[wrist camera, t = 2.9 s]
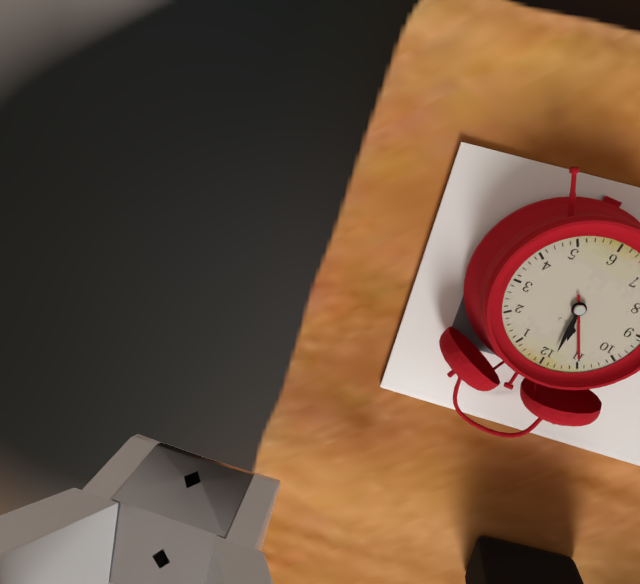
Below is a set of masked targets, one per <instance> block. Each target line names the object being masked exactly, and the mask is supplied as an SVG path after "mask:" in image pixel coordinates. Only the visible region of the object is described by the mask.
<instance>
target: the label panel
mask: <svg viewBox="0 0 640 584" xmlns="http://www.w3.org/2000/svg"><path fill="white" fill-rule="evenodd" d="M571 177H572V175H571V173H569V169H565V168H562V167H558V166H554V165H550V164H546V163H542V162H538V161H534V160H530V159H526V158H522V157H519V156H515V155H511V154H507V153H503V152H499V151H495V150H491V149H487V148H483V147H480V146H476V145H472V144H468V143H464V142H461V143H460V146H459V149H458V152H457V155H456V158H455V161H454V164H453V167H452V170H451V173H450V176H449V179H448V182H447V185H446V188H445V191H444V194H443V197H442V200H441V203H440V206H439V209H438V212H437V215H436V218H435V221H434V224H433V227H432V230H431V233H430V236H429V239H428V242H427V245H426V248H425V251H424V254H423V257H422V260H421V263H420V266H419V269H418V272H417V275H416V278H415V282H414V285H413V288H412V291H411V294H410V297H409V300H408V303H407V306H406V309H405V312H404V315H403V318H402V321H401V324H400V327H399V330H398V333H397V336H396V339H395V342H394V345H393V348H392V351H391V354H390V357H389V360H388V363H387V366H386V369H385V372H384V375H383V378H382V381H381V384H380V387H382V388H385V389H388V390H391V391H395V392H398V393H401V394H405V395H408V396H411V397H414V398H418V399H421V400H424V401H428V402H431V403H434V404H438V405H441V406H444V407H447V408H451V409H454V410H456V409H455V407H454V405H453V392H454V387H455V384H456V382H457V379H458V376H457V374H455V375H453V376H452V377H451V378H450V377H448V375H447V373H449V372H450V371H451V370H452V369H451V368H450V366H449V365H448V363H447V362H446V361H445V359H444V357H443V355H442V353H441V350H440V346H439V340H440V337H441V335H442V333H443V332H444V331H445V330H446V329H447V328H448V327H451V326H452V327H454V328H455V329H457V330H458V331H459V332H461V333H462V334H463V335H464V336H465V337H467V338H468V339H469V340H470V341H471V342H472V343H473V344H474V345H475V346H476V347H477V348H478V350H479V351H480V352H481V353H482V354H483V355H484V356H485V357H486V359H487V360H488V361H489V363H490V364H491V365H492V367H493V368H494V367H495V366H496V365H498V364H499V363H500V362H502V361H503V360H502V359H501V358H499V357H498V356H496V355H495V354H494V353H493V352H492V351H491V350H489V349H488V348H487V347H486V346H485V344H484V343H483V342H482V341H481V340H480V339H479V337H478V336H477V334H476V333H475V331H474V329H473V328H472V325H471V323H470V321H469V318H468V316H467V312H466V308H465V303H464V280H465V275H466V271H467V267H468V264H469V262H470V259H471V257H472V255H473V253H474V251H475V249H476V248H477V246H478V245H479V243H480V242H481V241H482V239H483V238H484V237H485V235H486V234H487V233H488V232H489V231H490V230H491V229H492V228H493V227H494V226H495V225H496V224H497V223H499V222H500V221H501V220H502V219H504V218H505V217H507V216H508V215H510V214H511V213H513V212H514V211H516V210H518V209H520V208H522V207H524V206H527V205H529V204H532V203H535V202H538V201H541V200H545V199H550V198H556V197H567V196H569V193H570V187H571ZM575 192H576V197H587V198H592V199H597V200H600V201H603V199H604V198H605V195H606V196H608V197H610V198H613V199H615V200H617V201H619V202H622V204H621V206H620V207H619V208H621V209H623V210H625V211H626V212H628V213H629V214H631V215H632V216H633V217H635V218H636V219H637V220H638V221H639V222H640V187H636V186H632V185H628V184H624V183H620V182H616V181H612V180H608V179H604V178H601V177H597V176H593V175H589V174H585V173H581V172H579V173H577V176H576V191H575ZM495 372H496V373H497V375H498V377H499V380H500V384H499V385H498V386H497V387H496V388H494V389H492V390H490V391H479V390H476V389H474V388H472V387H471V386H469V385H468V384H466V383H465V382H464V381H463V380H461V383H460V386H459V390H458V395H457V403H458V406H459V408H460V410H461V411H462V412H464V413H467V414H470V415H474V416H477V417H480V418H484V419H487V420H490V421H494V422H497V423H500V424H503V425H507V426H510V427H513V428H517V429H520V430H525V429H527V428H528V427H529V426H530V425H532V424H533V423H534V422H535V421H536V420H537V419H538V417H537V416H535V415H534V414H532V413H531V412H530V411H529V410H528V409H527V408H526V407H525V406H524V404H523V402H522V400H521V397H520V386H521V382H522V381H523V379H524V378H525V377H523V376H522V375H520V374H518V376H517V377H516V379H515V380H514V382H513V383H512V385H513V389H512V390H511V389H508V388H506V387H504V383H505V382H509V381H510V379H511V378H512V376H513V375H514V373H515V371H513V370H512V369H511V368H510V367H509V366H508V365H507V364H505V363H504V364H502V365H501V366H500V367H498V368H497V369H496V370H495ZM589 390H591V391H592V392H593V393H595V394H596V395H597V396H598V398H599V399H600V401H601V402H602V406H601V411H600V414H599V416H598V418H597V419H596V420H595V421H594V422H592V423H591V424H588V425H584V426H575V427H573V426H561V425H557V424H555V425H554V424H552V423H550V422H547V421H545V420H542V421H541V422H540V423H539V424H538V425H537V426H536V427H535V428H534V429H533V430H532V431H530V433H533V434H536V435H540V436H543V437H546V438H550V439H553V440H556V441H559V442H563V443H566V444H569V445H573V446H576V447H579V448H583V449H586V450H589V451H592V452H596V453H599V454H602V455H606V456H609V457H612V458H615V459H619V460H622V461H625V462H629V463H632V464H635V465H639V466H640V371H638V372H637V373H635V374H633V375H632V376H630V377H628V378H626V379H624V380H621V381H619V382H616V383H614V384H611V385H607V386H604V387H600V388H594V389H589Z"/></svg>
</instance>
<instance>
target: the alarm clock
mask: <svg viewBox="0 0 640 584" xmlns="http://www.w3.org/2000/svg"><path fill="white" fill-rule="evenodd" d="M579 171H580V169H579V167H571V168H570V169H569V173H571V175H572V177H571V187H570V193H569V196H567V197H556V198H550V199H545V200H541V201H538V202H535V203H532V204H529V205H527V206H524V207H522V208H520V209H518V210H516V211H514V212H513V213H511V214H510V215H508V216H507V217H505V218H504V219H502V220H501V221H500V222H499V223H497V224H496V225H495V226H494V227H493V228H492V229H491V230H490V231H489V232H488V233H487V234H486V235H485V237H484V238H483V239H482V241H481V242H480V243H479V245H478V246H477V248H476V249H475V251H474V253H473V255H472V257H471V259H470V262H469V264H468V267H467V271H466V275H465V280H464V303H465V308H466V312H467V316H468V318H469V321H470V323H471V325H472V328H473V329H474V331H475V333H476V334H477V336H478V337H479V339H480V340H481V341H482V342H483V343H484V344H485V346H486V347H487V348H488V349H489V350H491V351H492V352H493V353H494V354H495V355H496V356H498V357H499V358H501V359H502V360H503V361H502V362H500V363H499V364H498V365H496V366H495V367H494V368H493V367H492V365H491V364H490V363H489V361H488V360H487V359H486V357H485V356H484V355H483V354H482V353H481V352H480V351H479V350H478V348H477V347H476V346H475V345H474V344H473V343H472V342H471V341H470V340H469V339H468V338H467V337H465V336H464V335H463V334H462V333H461V332H459V331H458V330H457V329H455V328H454V327H452V326H451V327H448V328H447V329H446V330H445V331H444V332H443V333H442V335H441V337H440V340H439V346H440V350H441V353H442V355H443V357H444V359H445V361H446V362H447V363H448V365H449V366H450V368H451V369H452V370H451V371H450V372H449V373H447V375H448V377H450V378H451V377H452V376H453V375H455V374H457V376H458V379H457V382H456V384H455V387H454V392H453V405H454V407H455V409H456V411H457V413H458V414H459V415H460V416H461V417H462V418H463V419H464V420H465V421H467V422H468V423H469V424H471V425H473V426H475V427H477V428H478V429H480V430H482V431H485V432H488V433H490V434H493V435H496V436H501V437H510V438H514V437H520V436H523V435H525V434H527V433H529V432H530V431H532V430H533V429H534V428H535V427H536V426H537V425H538V424H539V423H540V422H541V421H542V420H545V421H547V422H550V423H552V424H554V425H555V424H557V425H561V426H573V427H575V426H584V425H588V424H591V423H592V422H594V421H595V420H596V419H597V418H598V416H599V414H600V411H601V406H602V402H601V401H600V399H599V398H598V396H597V395H596V394H595V393H593V392H592V391H591V390H589V389H594V388H600V387H604V386H607V385H611V384H614V383H616V382H619V381H621V380H624V379H626V378H628V377H630V376H632V375H633V374H635V373H637V372H638V371H640V222H639V221H638V220H637V219H636V218H635V217H633V216H632V215H631V214H629V213H628V212H626V211H625V210H623V209H621V208H619V207H620V206H621V204H622V202H619V201H617V200H615V199H613V198H610V197H608V196H606V195H605V198H604V199H603V201H600V200H597V199H592V198H587V197H576V192H575V191H576V176H577V173H579ZM504 363H505V364H507V365H508V366H509V367H510V368H511V369H512V370H513V371H515V373H514V375H513V376H512V378H511V379H510V381H509V382H505V383H504V387H506V388H508V389H511V390H512V389H513V385H512V383H513V382H514V380H515V379H516V377H517V376H518V374H520V375H522V376H523V377H525V378H524V379H523V381H522V382H521V386H520V397H521V400H522V402H523V404H524V406H525V407H526V408H527V409H528V410H529V411H530V412H531V413H532V414H534V415H535V416H537V417H538V419H537V420H536V421H535V422H534V423H533V424H532V425H530V426H529V427H528V428H527V429H525V430H523V431H521V432H517V433H504V432H498V431H495V430H492V429H489V428H486V427H484V426H482V425H480V424H478V423H476V422H474V421H473V420H471V419H470V418H468V417H467V416H466V415H465V414H464V413H463V412H462V411H461V410H460V408H459V406H458V403H457V395H458V390H459V386H460V383H461V380H463V381H464V382H465V383H466V384H468V385H469V386H471V387H472V388H474V389H476V390H479V391H490V390H492V389H494V388H496V387H497V386H498V385H499V384H500V380H499V377H498V375H497V373H496V372H495V370H496V369H497V368H498V367H500V366H501V365H502V364H504Z"/></svg>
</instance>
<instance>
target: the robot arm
mask: <svg viewBox="0 0 640 584" xmlns="http://www.w3.org/2000/svg"><path fill="white" fill-rule="evenodd" d="M279 486H280V481H279V480H277V479H273V478H270V477H267V476H264V475H260V474H257V473H256V474H255V473H252V472H249V471H246V470H243V469H240V468H237V467H234V466H230V465H227V464H224V463H221V462H218V461H214V460H211V459H207V458H205V457H202V456H199V455H197V454H194V453H191V452H188V451H185V450H182V449H179V448H177V447H174V446H171V445H168V444H166V443H163V442H161V443H160V442H158V441H155V440H152V439H150V438H147V437H144V436H141V435H139V434H138V435H135V436H133V437H131V438H130V439H129V440H128V441H127V442H126V443H125V444H124V445H123V446H122V448H121V449H120V450H119V451H118V452H117V453H116V454H115V455H114V456H113V457H112V458H111V459H110V460H109V461H108V462H107V464H106V465H105V466H104V467H103V468H102V469H101V470H100V471H99V472H98V473H97V474H96V475H95V476H94V477H93V479H92V480H91V481H90V482H89V483H88V484H87V485H86V486H85V487H84V488H83V489H82V490H79V489H76V488H72V489H70V490H67V491H64V492H62V493H59V494H56V495H54V496H51V497H49V498H46V499H43V500H40V501H38V502H35V503H32V504H30V505H27V506H24V507H22V508H19V509H16V510H14V511H11V512H9V513H6V514H3V515H1V516H0V584H108V583H109V582H110V583H113V584H273V582H272V578H271V575H270V572H269V568H268V565H267V562H266V558H265V555H264V552H262V547H263V544H264V540H265V537H266V533H267V530H268V527H269V523H270V519H271V516H272V512H273V508H274V505H275V501H276V497H277V494H278V490H279Z"/></svg>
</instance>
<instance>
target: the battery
mask: <svg viewBox="0 0 640 584" xmlns="http://www.w3.org/2000/svg"><path fill="white" fill-rule="evenodd" d="M465 579H466V584H584V583H583V581H582V579H581V576H580V574H579V572H578V569H577V567H576V564H575V562H574V561H573V560H572V559H571V558H569V557H566V556H562V555H558V554H554V553H550V552H546V551H542V550H538V549H533V548H529V547H525V546H521V545H517V544H513V543H509V542H505V541H501V540H497V539H493V538H489V537H484V536H481V537H479V538H478V540H477V542H476V545H475V548H474V551H473V554H472V557H471V560H470V563H469V566H468V569H467V572H466V575H465Z"/></svg>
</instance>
